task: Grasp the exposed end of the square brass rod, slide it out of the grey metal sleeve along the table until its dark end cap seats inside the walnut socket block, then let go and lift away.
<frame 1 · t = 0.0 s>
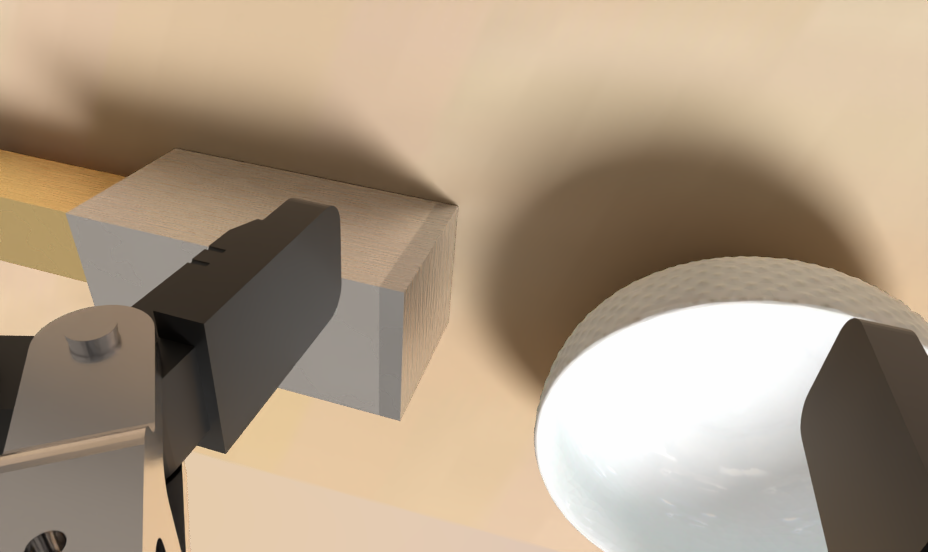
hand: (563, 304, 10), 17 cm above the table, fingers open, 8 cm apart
rod: (146, 238, 32), point 3 cm above the table, slide at 0.0 cm
sleeve: (305, 235, 33), on the table
cereal bowl: (730, 361, 31), on the table
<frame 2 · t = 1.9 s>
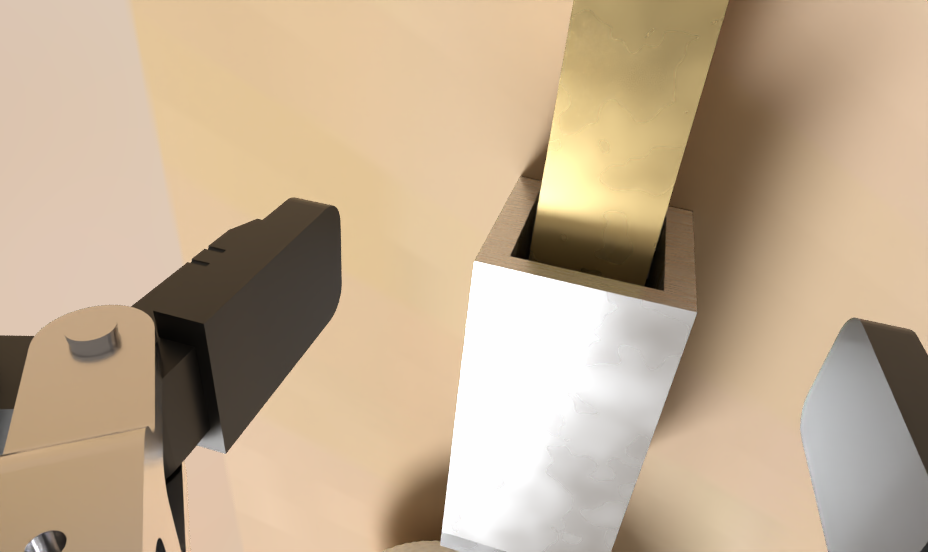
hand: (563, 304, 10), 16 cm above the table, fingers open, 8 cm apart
rod: (595, 229, 23), point 3 cm above the table, slide at 0.0 cm
sleeve: (572, 330, 30), on the table
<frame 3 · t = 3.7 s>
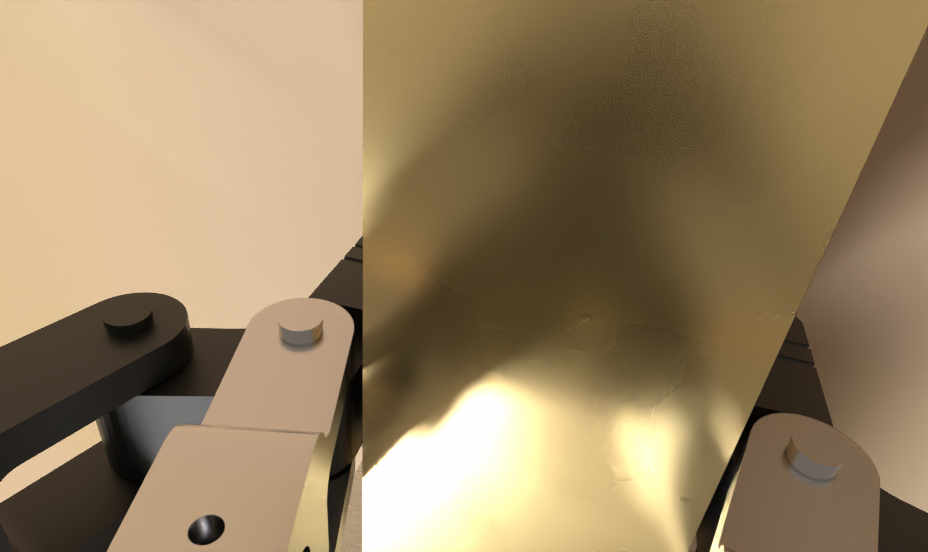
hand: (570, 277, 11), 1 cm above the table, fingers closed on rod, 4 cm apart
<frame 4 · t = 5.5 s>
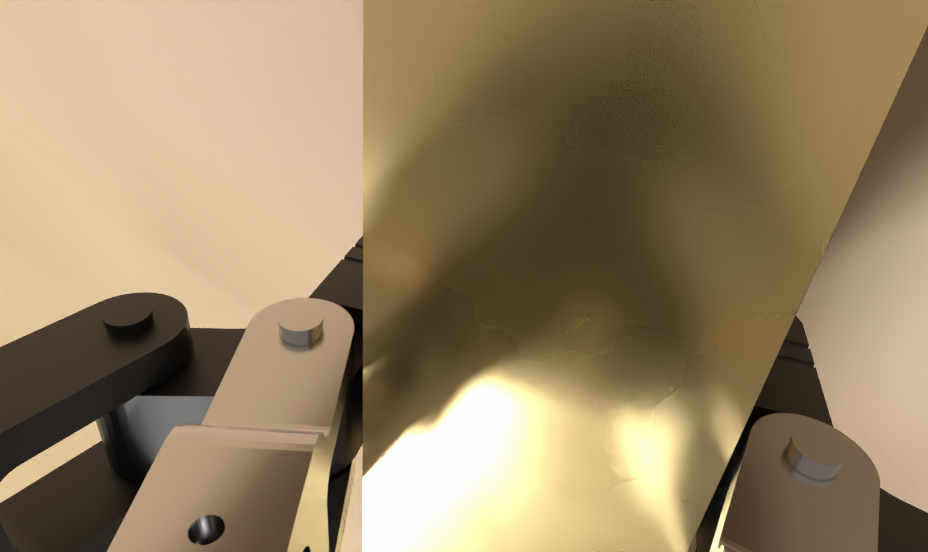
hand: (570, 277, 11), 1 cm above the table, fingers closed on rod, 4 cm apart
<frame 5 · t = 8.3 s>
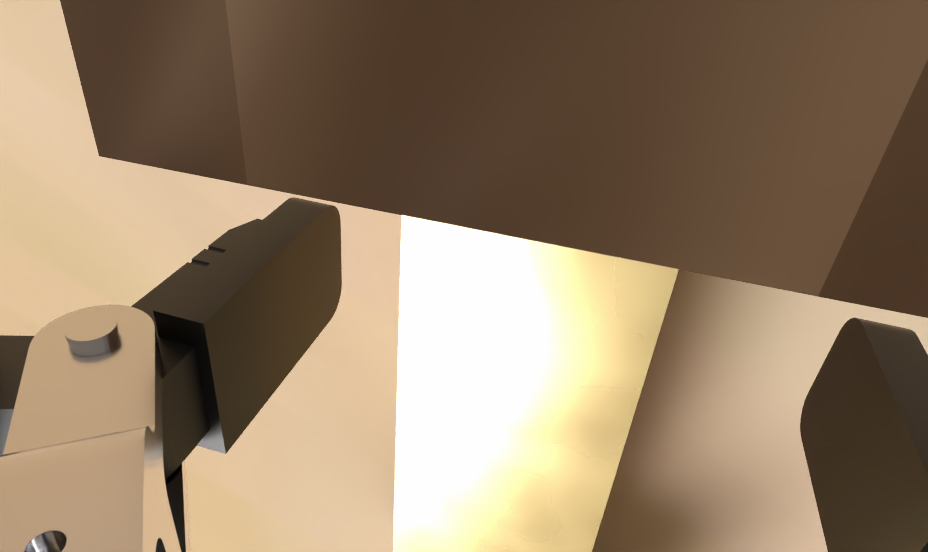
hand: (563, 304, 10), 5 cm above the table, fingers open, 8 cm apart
rod: (509, 451, 14), point 3 cm above the table, slide at 9.0 cm
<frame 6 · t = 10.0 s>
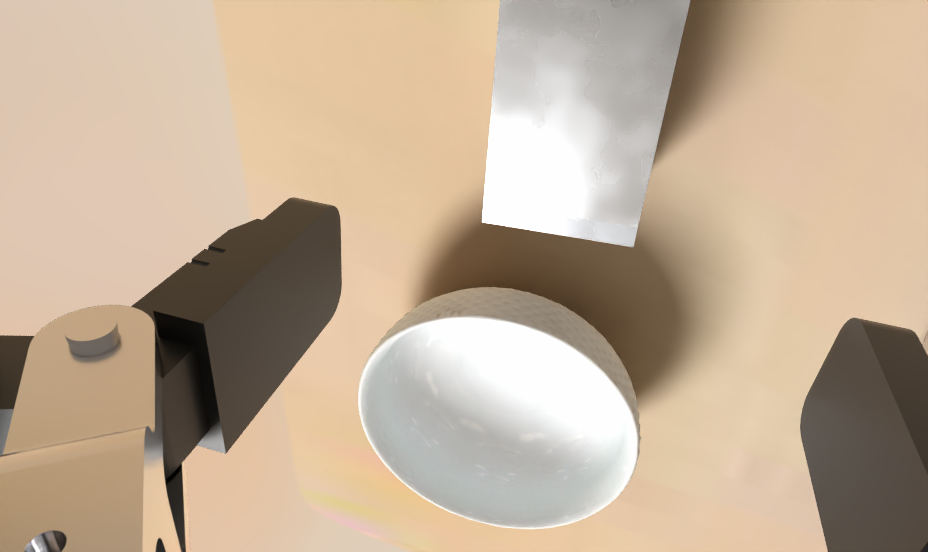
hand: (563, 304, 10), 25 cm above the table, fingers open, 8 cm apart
sleeve: (596, 21, 31), on the table
cereal bowl: (512, 358, 44), on the table
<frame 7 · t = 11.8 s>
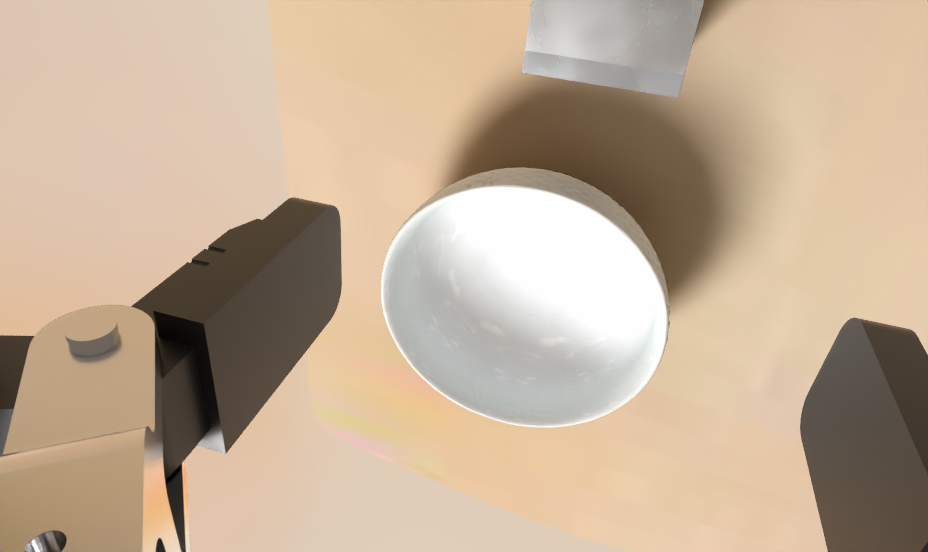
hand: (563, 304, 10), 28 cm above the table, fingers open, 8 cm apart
cereal bowl: (537, 259, 43), on the table
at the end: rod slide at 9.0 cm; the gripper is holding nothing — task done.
